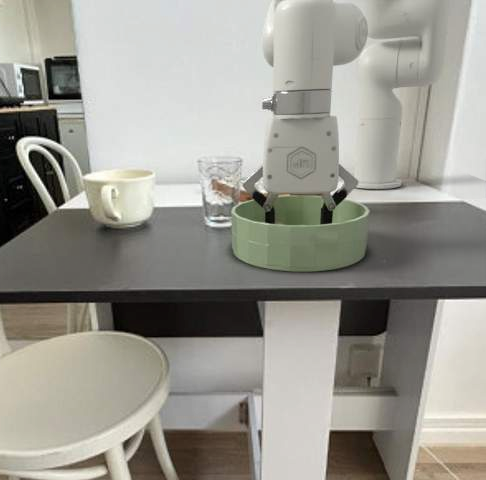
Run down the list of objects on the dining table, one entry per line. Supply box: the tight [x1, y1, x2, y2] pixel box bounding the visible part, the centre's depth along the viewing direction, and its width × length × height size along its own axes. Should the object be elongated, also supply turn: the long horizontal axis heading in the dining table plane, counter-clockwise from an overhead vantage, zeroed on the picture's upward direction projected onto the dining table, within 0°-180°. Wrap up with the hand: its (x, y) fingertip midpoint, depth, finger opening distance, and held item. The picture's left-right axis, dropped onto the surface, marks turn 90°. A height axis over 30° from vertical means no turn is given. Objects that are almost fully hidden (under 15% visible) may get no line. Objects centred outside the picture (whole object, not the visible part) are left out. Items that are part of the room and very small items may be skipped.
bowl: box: [230, 195, 371, 273], centre depth 63 cm, size 19×19×6 cm
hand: (297, 234), depth 64 cm, fingers closed on popsicle, 6 cm apart
